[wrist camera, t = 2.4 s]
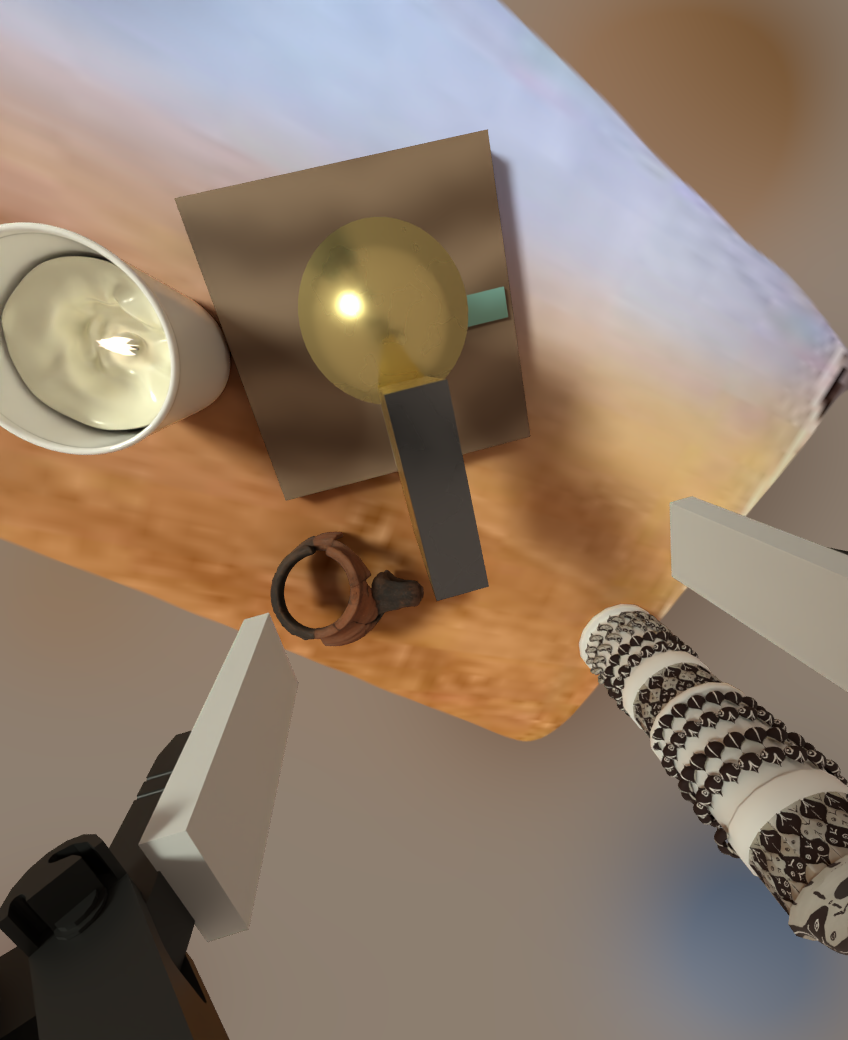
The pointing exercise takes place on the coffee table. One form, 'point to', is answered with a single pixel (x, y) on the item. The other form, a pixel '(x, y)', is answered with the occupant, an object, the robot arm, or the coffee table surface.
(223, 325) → the post plinth
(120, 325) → the candle holder
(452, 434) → the cap
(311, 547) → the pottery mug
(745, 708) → the decorative candle
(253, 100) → the coffee table surface
